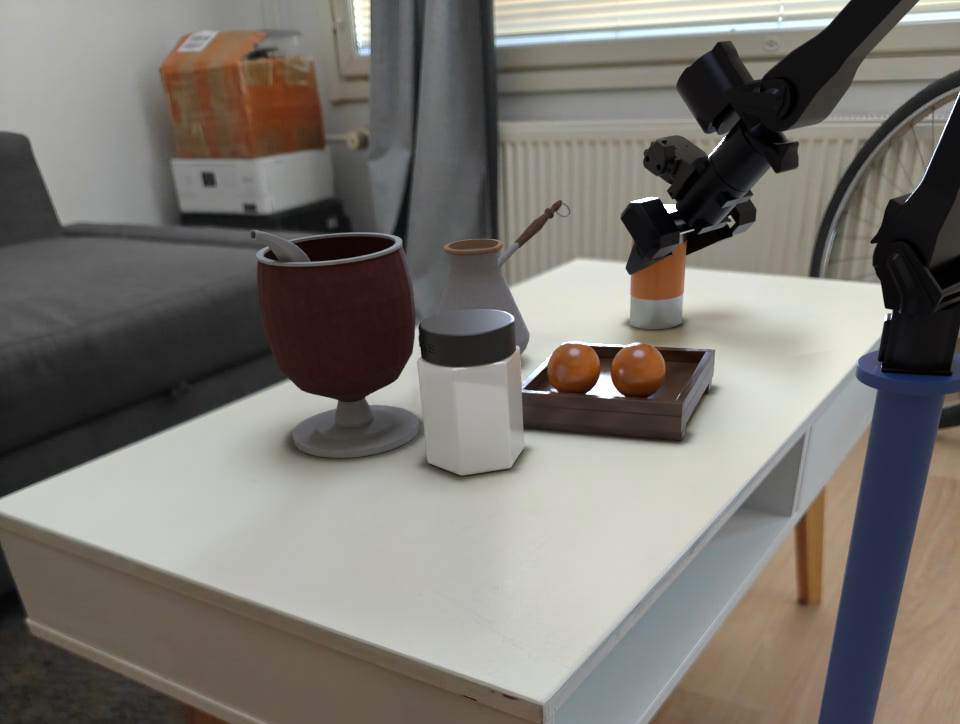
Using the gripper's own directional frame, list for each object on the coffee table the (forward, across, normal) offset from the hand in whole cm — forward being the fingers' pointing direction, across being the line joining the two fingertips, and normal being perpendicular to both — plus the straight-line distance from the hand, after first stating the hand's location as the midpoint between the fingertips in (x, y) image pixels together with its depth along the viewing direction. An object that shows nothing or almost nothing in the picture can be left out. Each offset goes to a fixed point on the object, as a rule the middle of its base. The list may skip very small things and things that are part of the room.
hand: (649, 265), depth 113 cm
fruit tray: (-8, +26, +17) cm, 32 cm away
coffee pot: (+8, +20, +2) cm, 21 cm away
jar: (-7, +43, +16) cm, 46 cm away
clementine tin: (+4, 0, +6) cm, 7 cm away
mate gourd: (+3, +47, +7) cm, 48 cm away
